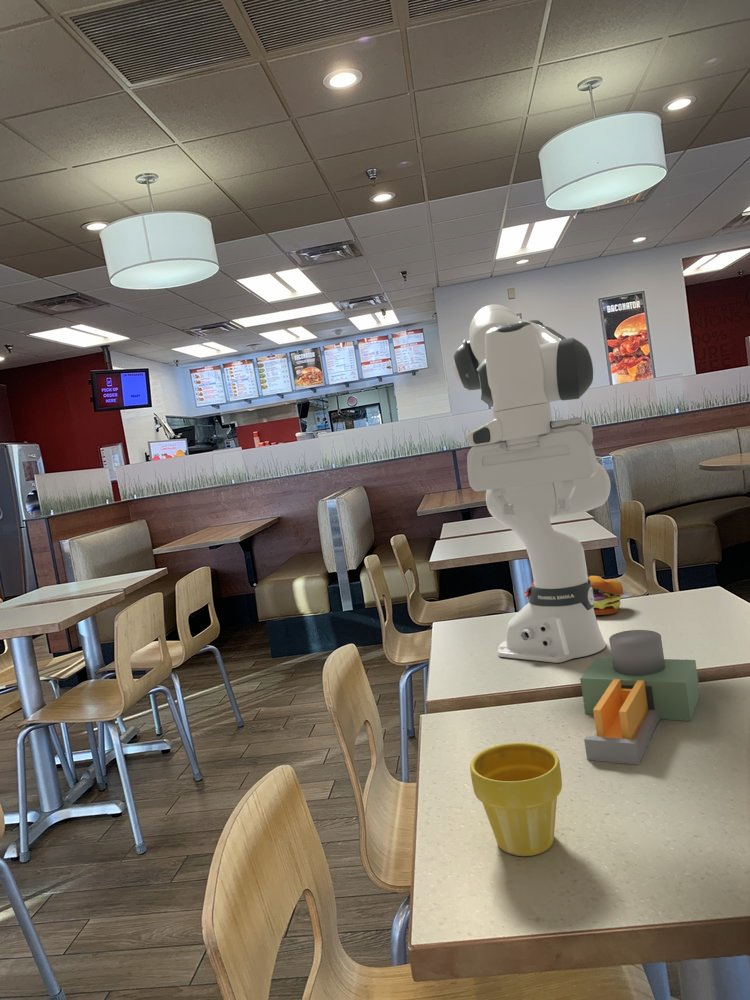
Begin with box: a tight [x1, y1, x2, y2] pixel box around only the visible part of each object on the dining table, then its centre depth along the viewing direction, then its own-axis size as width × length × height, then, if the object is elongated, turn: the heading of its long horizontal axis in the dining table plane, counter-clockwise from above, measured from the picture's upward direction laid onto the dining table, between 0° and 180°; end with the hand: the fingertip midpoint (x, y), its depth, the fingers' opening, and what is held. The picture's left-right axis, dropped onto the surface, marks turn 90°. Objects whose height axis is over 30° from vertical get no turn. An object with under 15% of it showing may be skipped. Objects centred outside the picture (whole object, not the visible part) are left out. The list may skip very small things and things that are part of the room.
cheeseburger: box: [588, 575, 625, 616], centre depth 170 cm, size 10×11×10 cm
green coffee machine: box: [579, 629, 701, 766], centre depth 107 cm, size 16×25×11 cm, turn 147°
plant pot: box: [469, 742, 563, 857], centre depth 82 cm, size 10×10×10 cm
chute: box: [593, 679, 649, 740], centre depth 103 cm, size 5×12×5 cm, turn 147°
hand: (536, 513), depth 110 cm, fingers open, 8 cm apart
